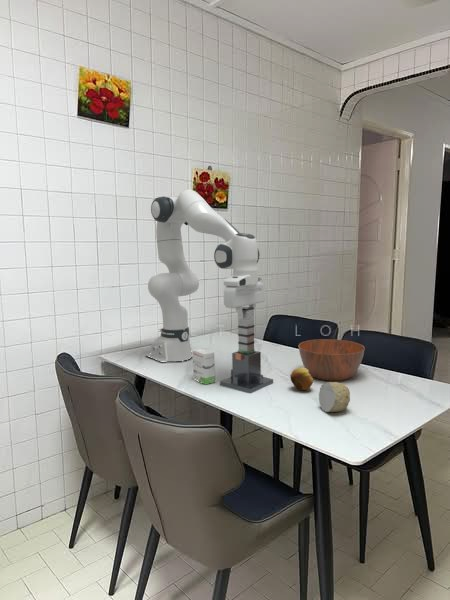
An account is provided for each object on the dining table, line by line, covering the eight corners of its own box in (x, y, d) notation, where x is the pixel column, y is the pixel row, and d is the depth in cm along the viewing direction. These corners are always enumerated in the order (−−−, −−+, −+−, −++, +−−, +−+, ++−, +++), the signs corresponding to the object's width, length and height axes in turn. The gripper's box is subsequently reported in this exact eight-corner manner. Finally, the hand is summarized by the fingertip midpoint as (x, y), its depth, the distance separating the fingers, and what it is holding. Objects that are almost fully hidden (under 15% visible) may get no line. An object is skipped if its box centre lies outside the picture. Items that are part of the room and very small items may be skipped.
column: (238, 356, 161) (237, 308, 159) (245, 354, 164) (244, 306, 162) (247, 358, 159) (247, 309, 156) (254, 356, 162) (254, 307, 159)
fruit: (308, 395, 151) (308, 372, 149) (286, 391, 155) (286, 368, 154) (316, 388, 157) (316, 366, 156) (294, 384, 161) (294, 363, 160)
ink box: (215, 382, 165) (215, 352, 164) (204, 385, 162) (203, 354, 161) (203, 377, 172) (202, 347, 171) (192, 379, 169) (191, 349, 168)
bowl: (368, 369, 178) (368, 342, 177) (358, 388, 156) (359, 357, 154) (307, 363, 189) (307, 337, 187) (290, 380, 167) (290, 350, 165)
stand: (220, 385, 162) (219, 352, 160) (243, 376, 173) (243, 345, 171) (250, 393, 153) (250, 358, 151) (273, 383, 164) (273, 350, 162)
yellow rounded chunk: (307, 386, 139) (333, 370, 141) (320, 413, 140) (345, 398, 143) (321, 393, 130) (348, 377, 132) (334, 423, 131) (361, 406, 133)
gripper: (255, 276, 167) (255, 312, 169) (220, 281, 152) (221, 320, 154) (269, 277, 163) (269, 314, 165) (234, 282, 148) (235, 322, 150)
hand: (245, 317), depth 160 cm, fingers closed on column, 4 cm apart
